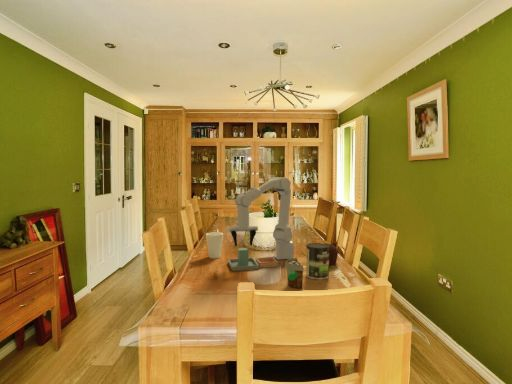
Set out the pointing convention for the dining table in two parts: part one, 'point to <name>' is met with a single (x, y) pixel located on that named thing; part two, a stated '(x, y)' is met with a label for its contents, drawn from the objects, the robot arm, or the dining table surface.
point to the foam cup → (214, 244)
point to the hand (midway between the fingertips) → (243, 245)
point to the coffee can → (317, 261)
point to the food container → (294, 273)
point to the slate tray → (251, 266)
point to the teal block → (242, 256)
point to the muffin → (332, 254)
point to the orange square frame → (267, 262)
